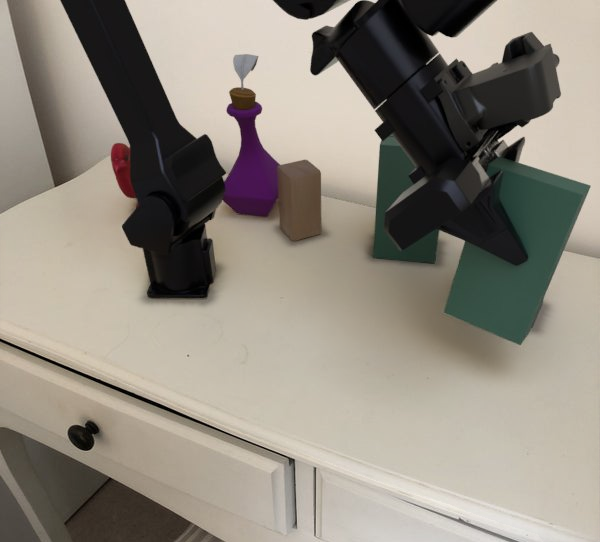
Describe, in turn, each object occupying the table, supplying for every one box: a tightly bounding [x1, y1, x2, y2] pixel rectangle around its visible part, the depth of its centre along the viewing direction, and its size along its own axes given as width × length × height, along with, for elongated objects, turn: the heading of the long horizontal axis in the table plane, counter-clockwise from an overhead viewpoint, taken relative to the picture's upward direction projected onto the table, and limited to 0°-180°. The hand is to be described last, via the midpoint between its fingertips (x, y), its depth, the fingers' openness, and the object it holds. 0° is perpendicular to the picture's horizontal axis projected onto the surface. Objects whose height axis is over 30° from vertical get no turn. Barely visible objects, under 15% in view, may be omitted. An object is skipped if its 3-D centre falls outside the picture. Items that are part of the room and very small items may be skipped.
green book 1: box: [372, 137, 440, 264], centre depth 69 cm, size 7×2×13 cm, turn 77°
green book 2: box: [443, 157, 592, 346], centre depth 50 cm, size 7×2×13 cm, turn 56°
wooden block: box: [277, 159, 322, 242], centre depth 76 cm, size 4×4×8 cm
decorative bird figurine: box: [110, 142, 139, 209], centre depth 82 cm, size 3×18×10 cm, turn 0°
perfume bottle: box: [222, 53, 281, 218], centre depth 77 cm, size 8×8×18 cm
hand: (527, 253), depth 50 cm, fingers closed on green book 2, 2 cm apart
